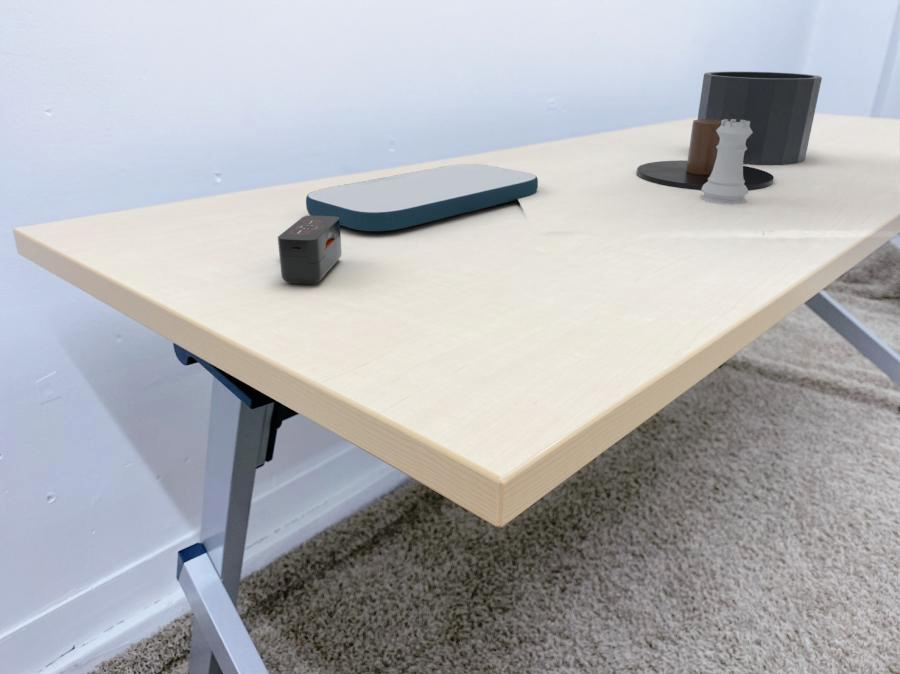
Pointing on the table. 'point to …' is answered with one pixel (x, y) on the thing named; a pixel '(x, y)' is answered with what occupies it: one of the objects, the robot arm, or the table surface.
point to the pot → (765, 111)
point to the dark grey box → (309, 249)
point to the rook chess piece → (728, 165)
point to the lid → (699, 162)
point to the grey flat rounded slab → (420, 196)
